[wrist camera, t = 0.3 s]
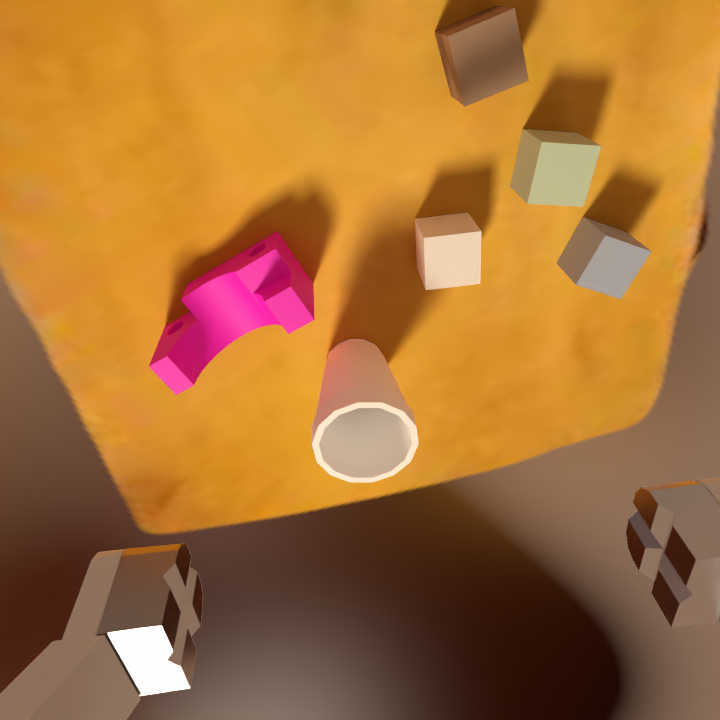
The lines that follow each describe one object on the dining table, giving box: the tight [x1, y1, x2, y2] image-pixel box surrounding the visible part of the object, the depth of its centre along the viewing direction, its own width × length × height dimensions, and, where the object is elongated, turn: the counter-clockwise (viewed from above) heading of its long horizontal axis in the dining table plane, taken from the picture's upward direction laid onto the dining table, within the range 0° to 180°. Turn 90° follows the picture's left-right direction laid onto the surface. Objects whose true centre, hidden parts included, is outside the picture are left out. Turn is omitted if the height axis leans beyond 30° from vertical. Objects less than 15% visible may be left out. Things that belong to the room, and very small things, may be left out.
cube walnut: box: [435, 6, 529, 106], centre depth 45 cm, size 5×5×5 cm
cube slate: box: [557, 217, 652, 299], centre depth 55 cm, size 5×5×5 cm
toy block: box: [149, 231, 314, 395], centre depth 54 cm, size 15×6×8 cm, turn 119°
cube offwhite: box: [415, 212, 481, 290], centre depth 53 cm, size 5×5×5 cm
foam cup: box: [312, 339, 419, 482], centre depth 57 cm, size 10×9×13 cm
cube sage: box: [510, 129, 601, 207], centre depth 50 cm, size 5×5×5 cm
